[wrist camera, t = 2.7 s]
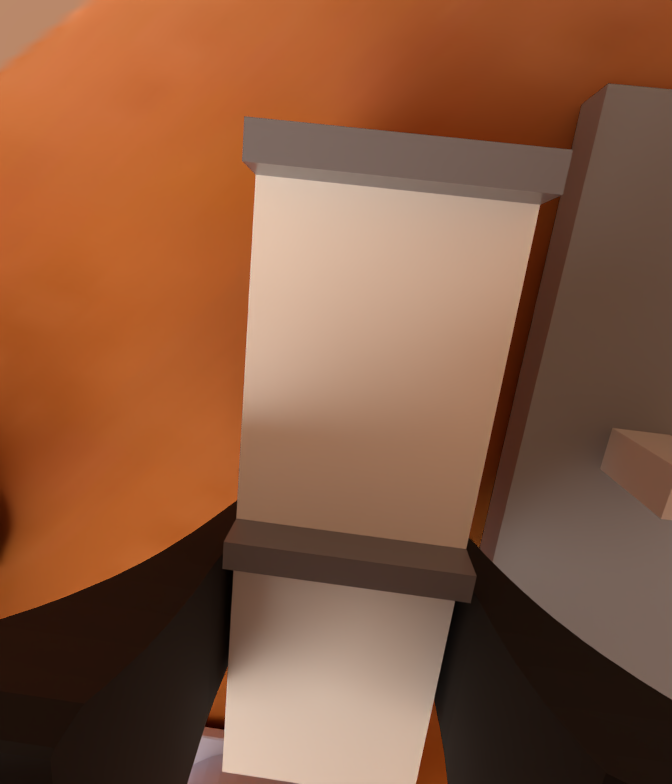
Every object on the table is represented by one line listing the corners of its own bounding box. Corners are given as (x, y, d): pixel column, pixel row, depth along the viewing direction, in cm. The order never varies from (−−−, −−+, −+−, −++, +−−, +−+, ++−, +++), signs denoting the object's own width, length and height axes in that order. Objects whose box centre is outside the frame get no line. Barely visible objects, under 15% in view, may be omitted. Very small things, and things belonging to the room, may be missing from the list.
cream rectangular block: (300, 197, 10) (240, 115, 5) (472, 215, 10) (578, 149, 5) (265, 619, 13) (207, 818, 8) (397, 637, 13) (417, 851, 8)
